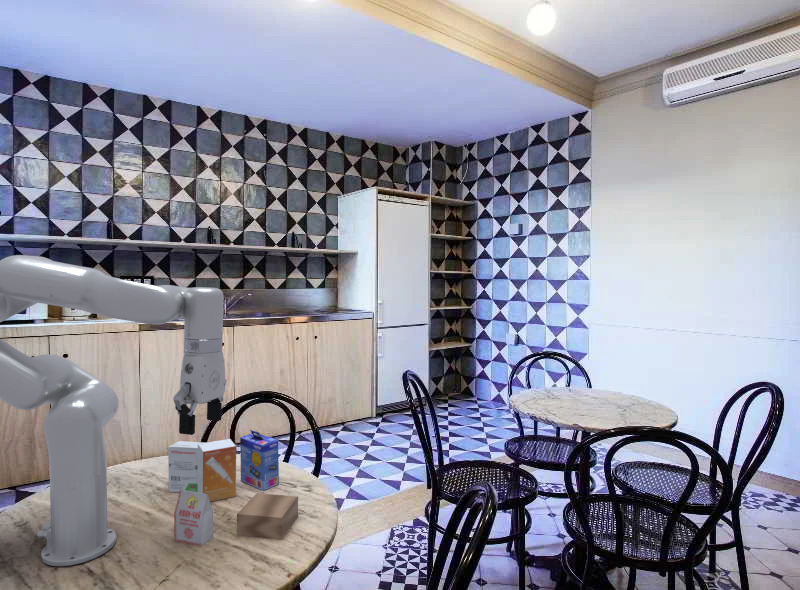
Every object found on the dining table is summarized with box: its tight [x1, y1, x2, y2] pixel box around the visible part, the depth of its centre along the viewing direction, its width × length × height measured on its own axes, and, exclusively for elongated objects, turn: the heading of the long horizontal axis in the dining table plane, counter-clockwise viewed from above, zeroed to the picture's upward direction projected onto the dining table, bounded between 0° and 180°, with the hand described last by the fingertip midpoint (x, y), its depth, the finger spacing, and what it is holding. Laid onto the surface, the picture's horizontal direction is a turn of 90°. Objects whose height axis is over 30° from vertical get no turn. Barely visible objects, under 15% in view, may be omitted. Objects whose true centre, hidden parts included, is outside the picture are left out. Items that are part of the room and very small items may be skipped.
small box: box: [197, 438, 237, 503], centre depth 122 cm, size 8×6×13 cm
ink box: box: [167, 440, 204, 493], centre depth 126 cm, size 9×5×12 cm, turn 83°
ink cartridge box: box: [239, 429, 280, 491], centre depth 130 cm, size 10×6×14 cm, turn 54°
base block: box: [236, 492, 299, 541], centre depth 108 cm, size 10×10×5 cm
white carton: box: [173, 490, 214, 547], centre depth 102 cm, size 4×7×10 cm, turn 73°
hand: (201, 426), depth 103 cm, fingers open, 9 cm apart
